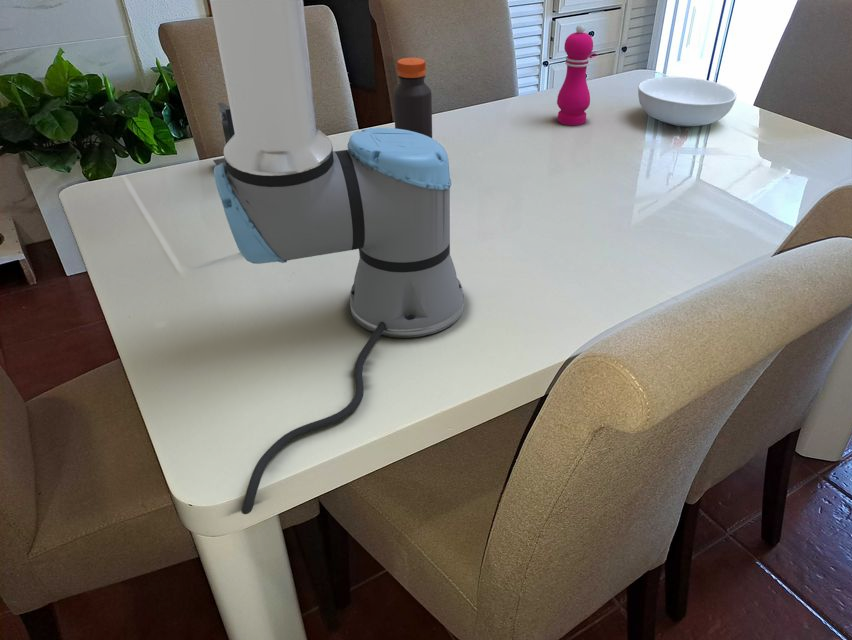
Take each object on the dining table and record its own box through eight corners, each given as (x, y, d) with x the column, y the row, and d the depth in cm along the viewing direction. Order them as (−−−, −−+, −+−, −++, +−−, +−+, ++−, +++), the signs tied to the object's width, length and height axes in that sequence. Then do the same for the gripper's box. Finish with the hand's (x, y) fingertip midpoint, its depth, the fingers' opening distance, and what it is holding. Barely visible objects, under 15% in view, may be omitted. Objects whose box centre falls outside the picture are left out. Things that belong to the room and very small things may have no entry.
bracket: (283, 179, 130) (272, 109, 122) (235, 189, 126) (220, 118, 118) (260, 157, 138) (249, 91, 130) (214, 166, 134) (200, 98, 127)
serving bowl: (725, 141, 147) (733, 108, 143) (626, 128, 153) (630, 96, 149) (732, 112, 163) (740, 81, 159) (642, 101, 169) (646, 71, 165)
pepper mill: (548, 120, 157) (556, 24, 145) (569, 113, 161) (578, 19, 149) (573, 128, 153) (583, 30, 141) (594, 121, 157) (605, 24, 145)
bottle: (394, 166, 135) (388, 57, 123) (428, 163, 136) (426, 55, 124) (400, 180, 130) (395, 67, 118) (436, 177, 131) (434, 65, 119)
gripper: (259, -189, 100) (283, -8, 114) (120, -192, 92) (164, 3, 106) (278, -190, 95) (300, -1, 109) (132, -193, 87) (177, 12, 100)
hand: (233, 1), depth 107 cm, fingers open, 6 cm apart
